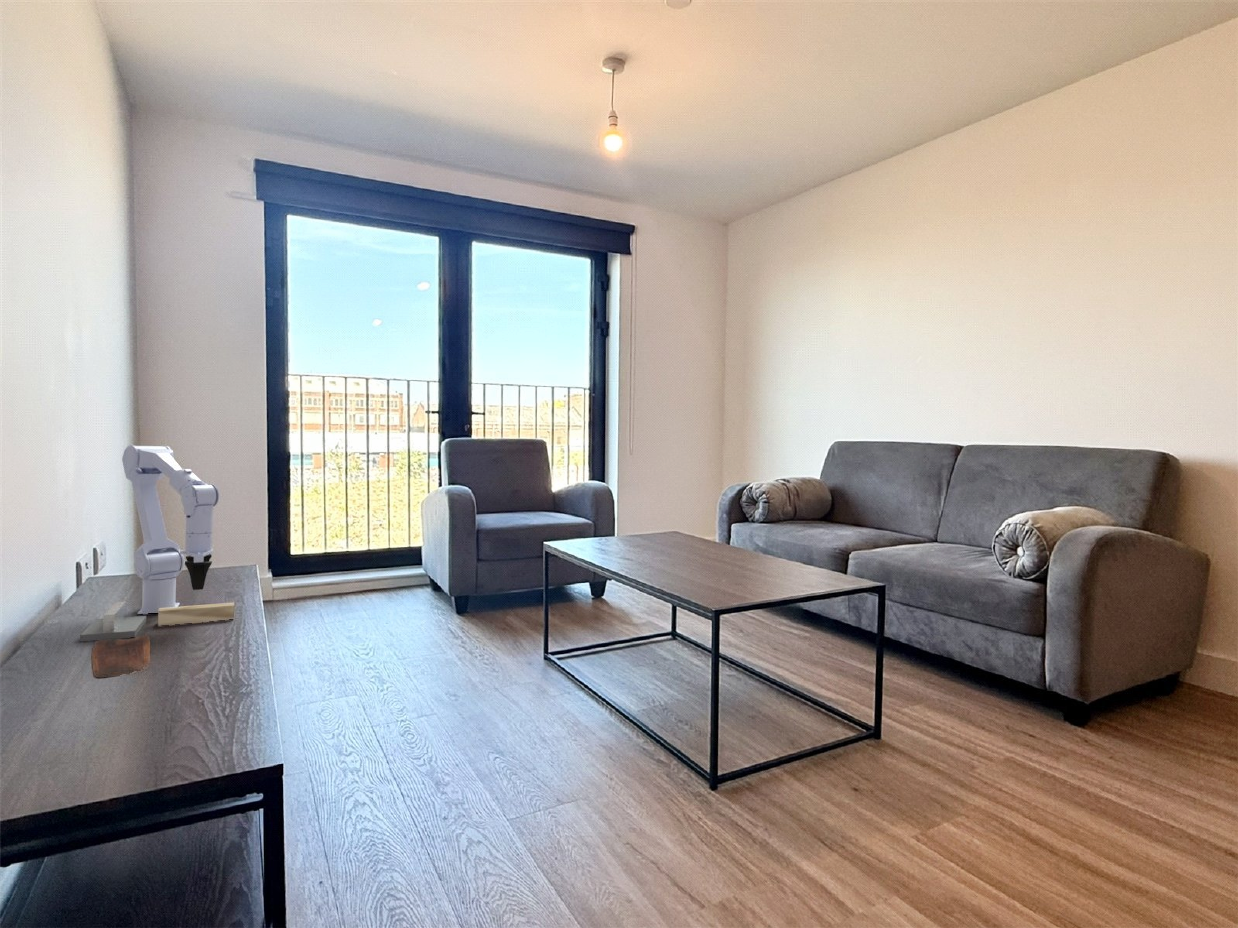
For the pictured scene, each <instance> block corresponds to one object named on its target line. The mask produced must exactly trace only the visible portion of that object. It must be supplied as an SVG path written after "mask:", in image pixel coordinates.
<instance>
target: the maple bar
mask: <svg viewBox="0 0 1238 928" xmlns="http://www.w3.org/2000/svg"><path fill="white" fill-rule="evenodd" d="M157 617H158V618H157V627H162V626H161V625H169V626H176V625H175V624H180V625H185V624H184V623H192V624H199V623H202V622H203V623H210V622H209V621H214V622H218V621H217V620H225V621H227V620H226V619H234V620H235V601H234V602H223V603H222V602H221V603H209V604H197V605H185V606H183V605H181V606H178V607H169V608H159V611H158V614H157Z"/></svg>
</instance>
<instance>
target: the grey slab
mask: <svg viewBox="0 0 1238 928" xmlns="http://www.w3.org/2000/svg"><path fill="white" fill-rule="evenodd" d="M145 622H146V623H147V615H138V616H137V615H135V616H126V618H125V620H124V621H123V622H122V623H121V624H120V626H119V627H118V628H117V629H116V630H115V631H114V632H106V633H103V618H96V619H94V621H92V623H91V624H89V625H88V626H87V628H86V629H85V630H83V632H82V633H81V634H80V635H79V642H80V641H82V642H92V641H93V640H95V641H100V640H107V639H131V638H130V637H134V638H135V636H136V637H137V635H138V634H139V633H140V631H141V630H142V628H143V627H144V626H145V624H146V623H145ZM144 623H145V624H144ZM143 625H144V626H143ZM142 626H143V627H142ZM141 627H142V628H141ZM140 629H141V630H140ZM139 630H140V631H139ZM138 632H139V633H138ZM137 633H138V634H137ZM91 640H92V641H91Z"/></svg>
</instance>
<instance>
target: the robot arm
mask: <svg viewBox="0 0 1238 928" xmlns="http://www.w3.org/2000/svg"><path fill="white" fill-rule="evenodd" d="M121 461H122V466H123V469H124V470H123V471H124V474H125V478H126V480H129V481H130V482H131V486H132V490H133V495H134V500H135V503H136V509H137V514H138V518H139V524H140V527H141V529H140V530H141V532H142V537H143V543H141V545H140V546H138V548H137V549H136V550H135V552H134V553H133V555H134V557H133V558H134V562H133V563H134V564H133V568H134V571H135V573H136V576H138V577H139V578H140V579H142V595H141V596H142V597H141V598H142V599H141V601H142V603H141V608H140V610H139V611H137V615H138V614H143V615H149V614H148V613H158V611H159V608H169V607H180V602H176V592H177V591H176V588H177V577H179V576H180V573H181V572H182V571H183V569H184V568H185V567H186V569H187V570H188V574H189V577H190V583H191V587H192V590H193V591H198V590H199V591H200V590H204V587H205V583H206V578H207V574H208V572H209V569H210V567H211V566H212V563H213V561H212V560H211V558H212V554H213V553H214V548H213V536H214V535H213V532H214V531H213V529H214V523H213V522H214V507H216V505H217V504H218V503H219V498H220V494H219V492H220V491H219V490H218V488H217V486H216V485H215V484H214V483H205V482H204V481H203V480H201V479H200V478H199V477H198V476H197V475H196V474H195V473H194V472H193V470H192V469H191V468H182V466H180V464H179V463H178V462H177V461H176V460H175V454H174V450H172V448H171V447H169V446H168V445H159V446H158V445H157V446H156V445H133V444H130V445H127V446H126V447H125V449H124V451H123V454H122V458H121ZM165 476H166V477H168V479H169V480H168V483H169V486H171V487H172V488H173V489H174V490H175V492H177V493H178V494H179V495H180V501H181V504H182V506H183V514H184V515H185V544H184V545H185V546H184V547H185V549H180V548H181V547H180V546H179V545H180V544H178V543H177V542H175V541H173V540H171V539H170V538H168V535H167V530H166V525H165V521H164V516H163V511H162V507H161V503H160V498H159V494H158V489H157V481H159V480H161V479H164V477H165ZM184 555H186V556H184ZM210 560H211V561H210Z"/></svg>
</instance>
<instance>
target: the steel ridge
mask: <svg viewBox="0 0 1238 928" xmlns="http://www.w3.org/2000/svg"><path fill="white" fill-rule="evenodd" d="M127 606H128V605H127V601H115V602H114V604H113V605H112V606H111V607H110V608H109V609H108V610H107V611H106V612H105V613H103V617H102V619H103V633H106V632H114V631H115V630H116V629H117V628H118V627H119V626H120V624H121V623H122V622H123V621H124V620H125V618H126V617H127Z"/></svg>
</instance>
